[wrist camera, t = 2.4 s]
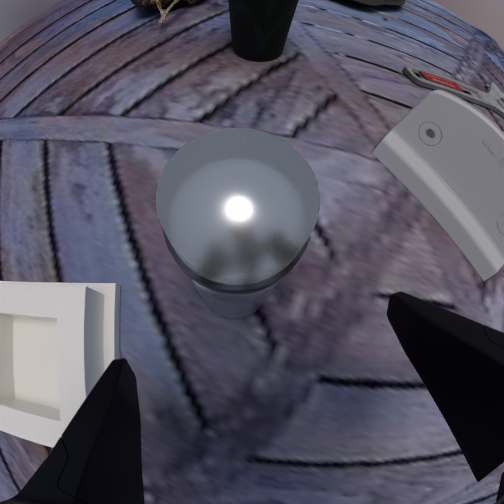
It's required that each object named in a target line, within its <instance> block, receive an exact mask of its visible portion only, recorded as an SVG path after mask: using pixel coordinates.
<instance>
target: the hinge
mask: <svg viewBox="0 0 504 504" xmlns="http://www.w3.org/2000/svg"><path fill="white" fill-rule="evenodd" d="M372 154H373V155H374V156H375V157H376V158H378V159H379V160H380V161H381V162H382V163H383V164H384V165H385V166H386V167H387V168H388V169H389V170H390V171H391V172H392V173H393V174H394V175H395V176H396V177H397V178H398V179H399V180H400V181H401V182H402V183H403V184H404V185H405V186H406V187H407V188H408V190H409V191H410V192H411V193H412V194H413V195H414V196H415V197H416V198H417V199H418V200H419V201H420V202H421V204H422V205H423V206H424V207H425V208H426V209H427V210H428V211H429V212H430V214H431V215H432V216H433V217H434V218H435V219H436V220H437V222H438V223H439V224H440V225H441V226H442V228H443V229H444V230H445V231H446V232H447V234H448V235H449V236H450V237H451V238H452V240H453V241H454V242H455V243H456V245H457V246H458V247H459V249H460V250H461V251H462V252H463V254H464V255H465V256H466V258H467V259H468V260H469V262H470V263H471V264H472V266H473V267H474V268H475V270H476V271H477V272H478V274H479V275H480V277H481V278H482V279H483V281H485V280H486V279H488V278H489V277H491V276H493V275H494V274H495V273H497V272H498V270H499V269H500V268H501V267H502V265H503V264H504V133H503V131H502V130H501V129H500V128H499V127H498V126H497V125H496V124H495V123H494V122H493V121H491V120H490V119H489V118H488V117H487V116H486V115H484V114H483V113H482V112H481V111H479V110H478V109H477V108H475V107H474V106H472V105H470V104H469V103H467V102H466V101H464V100H463V99H461V98H459V97H457V96H455V95H453V94H451V93H448V92H446V91H444V90H434V91H431V92H430V93H428V94H427V95H426V96H425V97H424V98H423V99H422V100H421V101H420V102H419V103H418V104H417V105H416V106H415V107H414V108H412V109H411V110H410V111H409V112H408V113H407V114H406V115H405V116H404V117H403V118H402V119H401V120H400V121H399V122H398V123H397V124H396V125H395V126H394V127H393V128H392V129H391V130H390V131H389V132H387V133H386V135H385V136H384V138H383V139H382V141H381V142H380V143H379V144H378V146H377V147H376V148H375V150H374V151H373V152H372Z"/></svg>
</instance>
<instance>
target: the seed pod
mask: <svg viewBox="0 0 504 504" xmlns="http://www.w3.org/2000/svg"><path fill="white" fill-rule="evenodd" d="M169 1H170V0H131V2H132V3H133V4H135V5H137V6H138V8H139V9H140V10H142V11H150V10H153V9H159V11H160V13H161V18H160V19H159V21H158V23H159V25H161V24H164V21H165V16H166V15H167V13H168V11H169V10H170V9H171V8H172V7H173V5H175V4H176V3H177V2H178V1H179V0H174V2H173V3H172V4H171V5H170V6H169V7H168V8H167V9H166V10H165V9H164V10H163V9H162V7H164V6H166V5H167V3H168V2H169ZM182 1H186V0H182ZM199 1H201V0H187V2H188V3H190V4H192V3H195V2H199Z"/></svg>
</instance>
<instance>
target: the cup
mask: <svg viewBox="0 0 504 504" xmlns="http://www.w3.org/2000/svg"><path fill="white" fill-rule="evenodd" d="M228 1H229V12H230V23H231V34H232V46H233V51H234V53H235V54H237V55H238V56H239V57H241V58H244V59H246V60H251V61H258V62H262V61H270V60H274V59H276V58H278V57H279V56H280V55H281V54H282V51H283V48H284V45H285V41H286V38H287V35H288V32H289V29H290V25H291V22H292V19H293V16H294V13H295V10H296V6H297V3H298V0H228Z"/></svg>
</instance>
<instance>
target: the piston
mask: <svg viewBox="0 0 504 504" xmlns="http://www.w3.org/2000/svg"><path fill="white" fill-rule="evenodd" d="M156 205H157V213H158V216H159V220H160V223H161V225H162V227H163V234H164V238H165V241H166V244H167V246H168V248H169V251H170V253H171V254H172V256H173V258H174V259H175V261H176V262H177V264H178V265H179V267H180V268H181V269H182V270H183V271H184V272H185V274H186V275H188V276H189V277H190V278H191V280H192V282H193V284H194V285H195V287H196V289H197V291H198V292H199V294H200V296H201V297H202V299H203V301H204V302H205V304H206V305H207V307H208V308H209V309H210V310H211V311H213V312H214V313H215V314H217V315H219V316H221V317H224V318H228V319H240V318H244V317H247V316H249V315H251V314H253V313H254V312H256V311H257V310H258V309H259V308H260V306H261V305H262V304H263V303H264V301H265V300H266V298H267V297H268V296H269V294H270V293H271V291H272V290H273V288H274V287H275V286H276V284H277V283H278V282H279V281H280V280H281V279H283V278H284V277H285V276H286V275H287V274H288V273H289V272H290V271H291V270H292V268H293V267H294V266H295V265H296V263H297V262H298V261H299V259H300V258H301V256H302V255H303V253H304V251H305V249H306V247H307V244H308V242H309V238H310V234H311V233H312V231H313V229H314V227H315V224H316V222H317V219H318V214H319V210H320V193H319V187H318V183H317V180H316V177H315V175H314V172H313V171H312V169H311V167H310V165H309V164H308V162H307V161H306V160H305V158H304V157H303V156H302V155H301V154H300V153H299V152H298V151H297V150H296V149H295V148H294V147H293V146H291V145H290V144H288V143H287V142H285V141H284V140H282V139H280V138H278V137H277V136H275V135H272V134H269V133H267V132H264V131H260V130H256V129H250V128H225V129H219V130H215V131H211V132H208V133H205V134H203V135H200V136H198V137H196V138H195V139H193V140H191V141H190V142H188V143H187V144H185V145H184V146H183V147H181V148H180V149H179V150H178V151H177V152H176V153H175V154H174V155H173V156H172V158H171V159H170V160H169V162H168V163H167V165H166V166H165V168H164V170H163V172H162V174H161V177H160V180H159V183H158V187H157V193H156Z"/></svg>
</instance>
